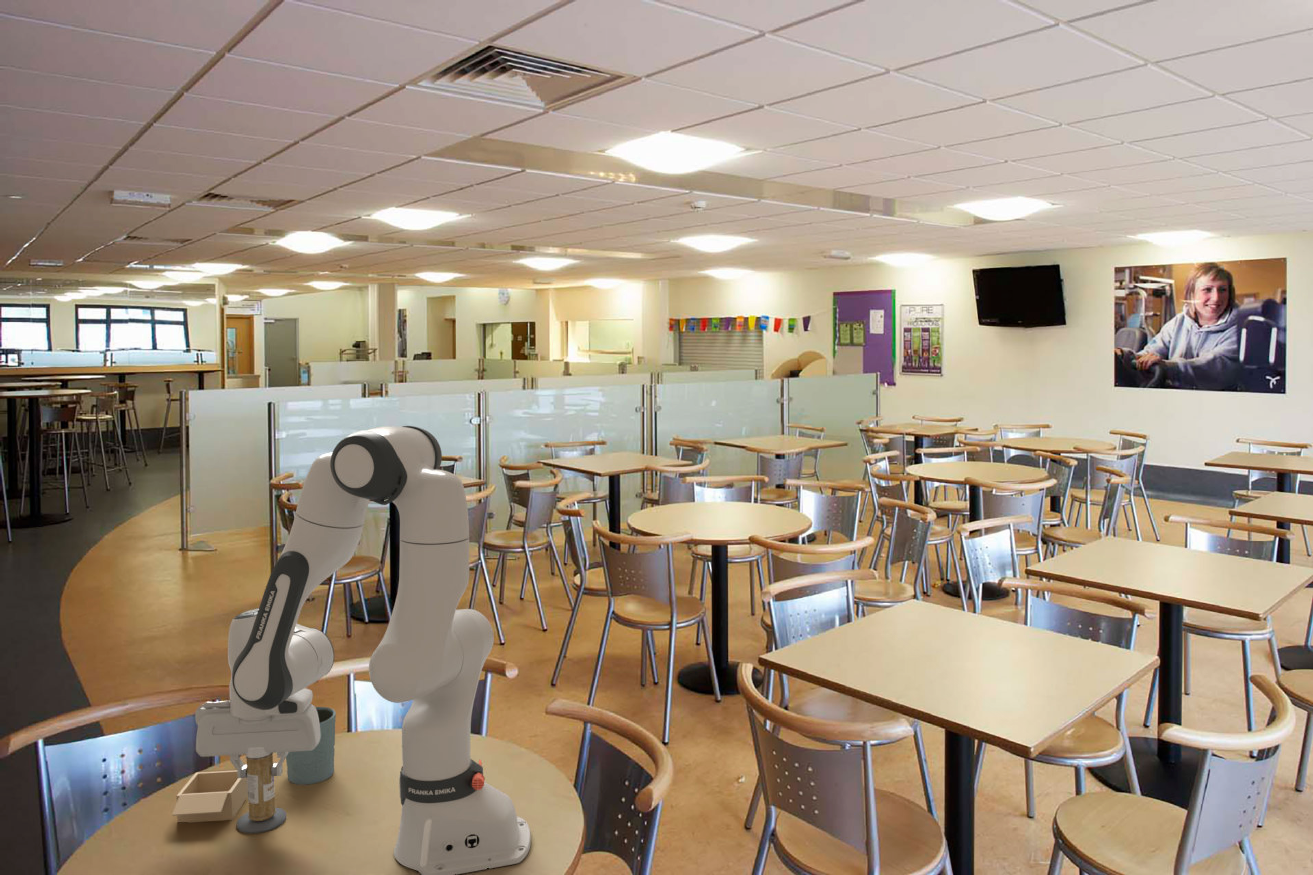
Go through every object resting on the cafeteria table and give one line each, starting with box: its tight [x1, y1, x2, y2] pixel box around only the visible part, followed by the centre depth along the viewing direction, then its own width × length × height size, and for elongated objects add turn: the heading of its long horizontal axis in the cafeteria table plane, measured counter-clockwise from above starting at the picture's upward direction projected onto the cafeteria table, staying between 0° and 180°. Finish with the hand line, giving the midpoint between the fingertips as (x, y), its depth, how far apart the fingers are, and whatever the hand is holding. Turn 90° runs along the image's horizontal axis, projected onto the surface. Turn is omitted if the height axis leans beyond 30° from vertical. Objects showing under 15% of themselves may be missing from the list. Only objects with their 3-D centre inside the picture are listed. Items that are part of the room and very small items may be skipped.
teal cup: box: [285, 706, 337, 786], centre depth 176 cm, size 10×10×12 cm
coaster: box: [236, 806, 287, 834], centre depth 158 cm, size 8×8×1 cm
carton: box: [171, 768, 248, 823], centre depth 162 cm, size 9×17×5 cm, turn 8°
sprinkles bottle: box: [244, 747, 276, 821], centre depth 157 cm, size 5×5×14 cm
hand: (260, 775), depth 157 cm, fingers closed on sprinkles bottle, 4 cm apart
